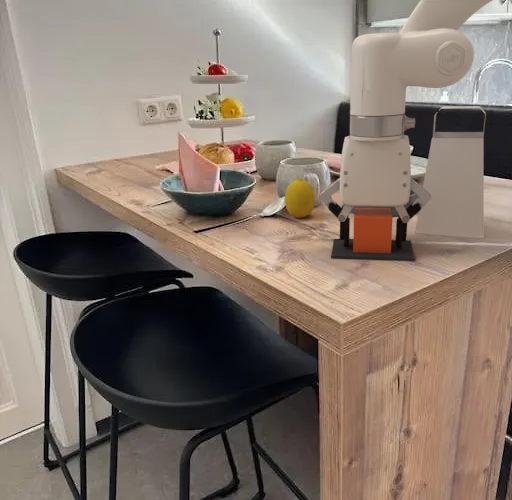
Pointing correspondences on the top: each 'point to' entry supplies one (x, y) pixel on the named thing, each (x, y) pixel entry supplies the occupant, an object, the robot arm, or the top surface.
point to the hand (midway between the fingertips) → (372, 243)
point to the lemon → (299, 198)
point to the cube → (372, 230)
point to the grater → (454, 184)
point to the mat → (395, 254)
